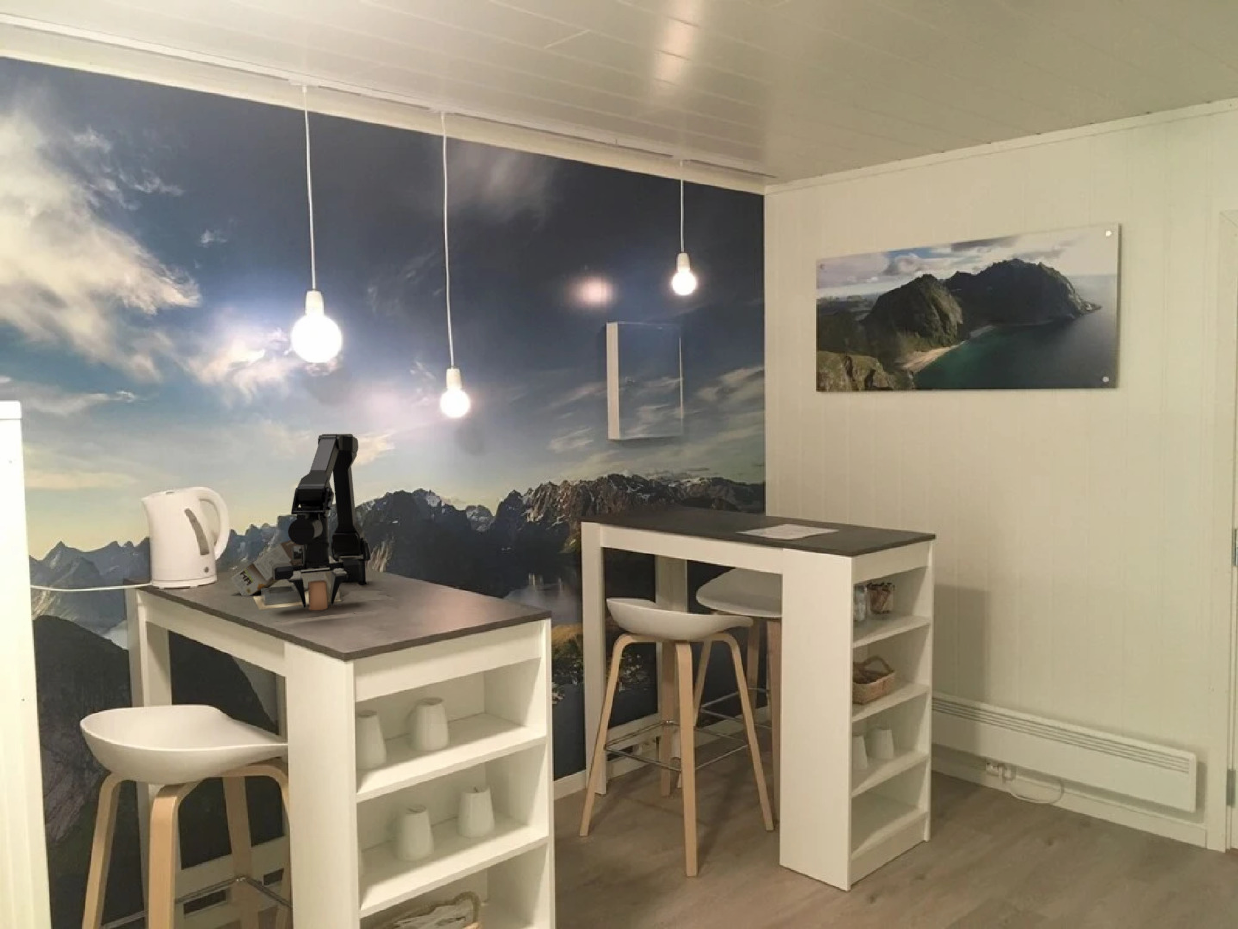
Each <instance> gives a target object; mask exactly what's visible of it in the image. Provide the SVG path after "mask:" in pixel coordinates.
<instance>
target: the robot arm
mask: <svg viewBox="0 0 1238 929" xmlns="http://www.w3.org/2000/svg"><path fill="white" fill-rule="evenodd" d="M358 452H359V440H358V438H357V437H356V436H354V435H353V433H323V434H321V435H320V434H319V435H318V438H317V449H316V451H315V454H314V458H313V459H312V464H311V467H310V470H309V471H308V473H307V474H306V475H303V477H301V478H300V480H299V482H298V485H297V487H295V489H294V492H293V498H292V505H291V510H290V511H291V512H290V514H291V515H292V516H294V515H295V516H296V519H295V520H293V521H292V522H291V523H290V524H289V526H288V528H287V534H288V537H289V540H291V541H292V542H294V543H295V544H298V545H303V548H302V549H301V546H292V559H293V561H298V560H301V565H300V566H292V564H291V563H279V564H274V565H273V566H272V576H273V578H274V579H275V580H279V581H281V580H283V581H284V580H286V581H287V582H288V583H290V584H292V583H293V585H295V587H296V589H297V591H298V594H299V596H300V599H301V602H302V604H303V605H302V607H303V608H306V607H307V605H306V598H305V585H304V580H303V578H302V574H312V573H315V572H318V573H324V571H333V572H331V588H330V602H329V604H330V605H334V603H335V602H334V600H335V597H336V594H337V591H338V588H339V589H340V586H341V584H343V583H344V584H345V583H349V584H350V583H353V584H354V583H357V584H358V585H359V586H363V585H364V586H365V585H368V581H367V580H366V579H367V576H366V575H367V574H366V573H367V572H366V570H367V569H366V562H367V561H371V560H372V554H371V548H370V545H369V542H368V540H367V537H365V530H364V528H363V527H362V526H361V525H360V523H359V522H358V521H357V514H356V505H355V502H356V501H355V492H354V482H353V472H352V466H353V464H354V462H355V460H356V458H357V456H358V455H357V454H358ZM331 478H333V479H332V480H333V488H334V490H333V488H332V486H331V485H332V484H331V481H330V480H331ZM334 497H335V508H336V509H335V510H336V519H337V527H336V528H335V530H334V533H333V534H332V536H331V540H330V538H329V535H330V534H329V515H328V514H329V512H330V511H332V506H333V503H334ZM330 541H331V542H330ZM330 549H331V555H332V556H331V557H332V558H333V559H334V560H335V561H336V562H333V563H330V558H329V556H330ZM321 567H322V568H321ZM324 567H325V568H324ZM313 568H314V569H313Z"/></svg>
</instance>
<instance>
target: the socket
mask: <svg viewBox="0 0 1238 929" xmlns="http://www.w3.org/2000/svg"><path fill="white" fill-rule="evenodd" d="M260 592H261V594H260V596H261V599H262V601H263V602H264V604H265V606H266V605H275V604H285V603H294V602H301V599H300V596H299V594H298V591H297V589H296V587H295V585H294V584H293V585H284V586H283V585H282V586H271V587H269V588H261V591H260Z"/></svg>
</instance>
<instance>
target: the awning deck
mask: <svg viewBox="0 0 1238 929" xmlns="http://www.w3.org/2000/svg"><path fill="white" fill-rule="evenodd" d="M329 558H330V563H333V562H336V561H335V560H334V559H333V557H332V556H331V555H329ZM321 568H322V567H321ZM324 568H325V567H324ZM313 569H314V568H313ZM331 572H333V571H324V572H323V580H324V581H326V582H327V603H330V588H331ZM314 573H315V574H316V575H319V572H314ZM304 591H305V590H304ZM252 598H253V600H254V601H255V604H256V605H257V607H258V609H259V610H260V611H261V610H270V609H278V608H288V607H290V608H291V607H297V606H298V607H299V606H303V604H302V602H294V603H285V604H275V605H266V606H265V604H264V602H263V601H262V599H261V595H256V596H253V597H252ZM305 598H306V606H307V605H308V606H309V595H308V590H307V591H305ZM335 602H342V600H341V597H340V587H339V588H338V591H337V594H336V597H335V600H334V602H333V603H335Z"/></svg>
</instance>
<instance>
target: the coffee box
mask: <svg viewBox="0 0 1238 929" xmlns="http://www.w3.org/2000/svg"><path fill="white" fill-rule="evenodd" d="M292 546H301V549H302V548H303V545H298V544H295V543H294V542H292V541H291V539H289V540H286V541H283V542H280V543H279V544H278V545H277V546H275V547H273V548H272V549H270V550H269V551H268V552H267V553H265V554H263V555H261V556H260V557H259V558H257V559H256V560H255V561H254V562H252V563H251V564H248V565H247V566H246V567H245V568H243V569H242V570H240V571H239V572H237V573H236V574H235V575H233V576H232V577H230V580H231V581H232V582H233V584H234V586H235V588H236V590H238V592H239V594H241V596H243V597H247V596H252V595H255V594H257V593H260V592H261V588H271V587H273V585H275V584H276V583H278V582H280V580H275V579H274V578H273V576H272V566H273V565H274V564H279V563H291V564H292V566H300V565H301V560H298V561H293V559H292Z"/></svg>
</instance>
